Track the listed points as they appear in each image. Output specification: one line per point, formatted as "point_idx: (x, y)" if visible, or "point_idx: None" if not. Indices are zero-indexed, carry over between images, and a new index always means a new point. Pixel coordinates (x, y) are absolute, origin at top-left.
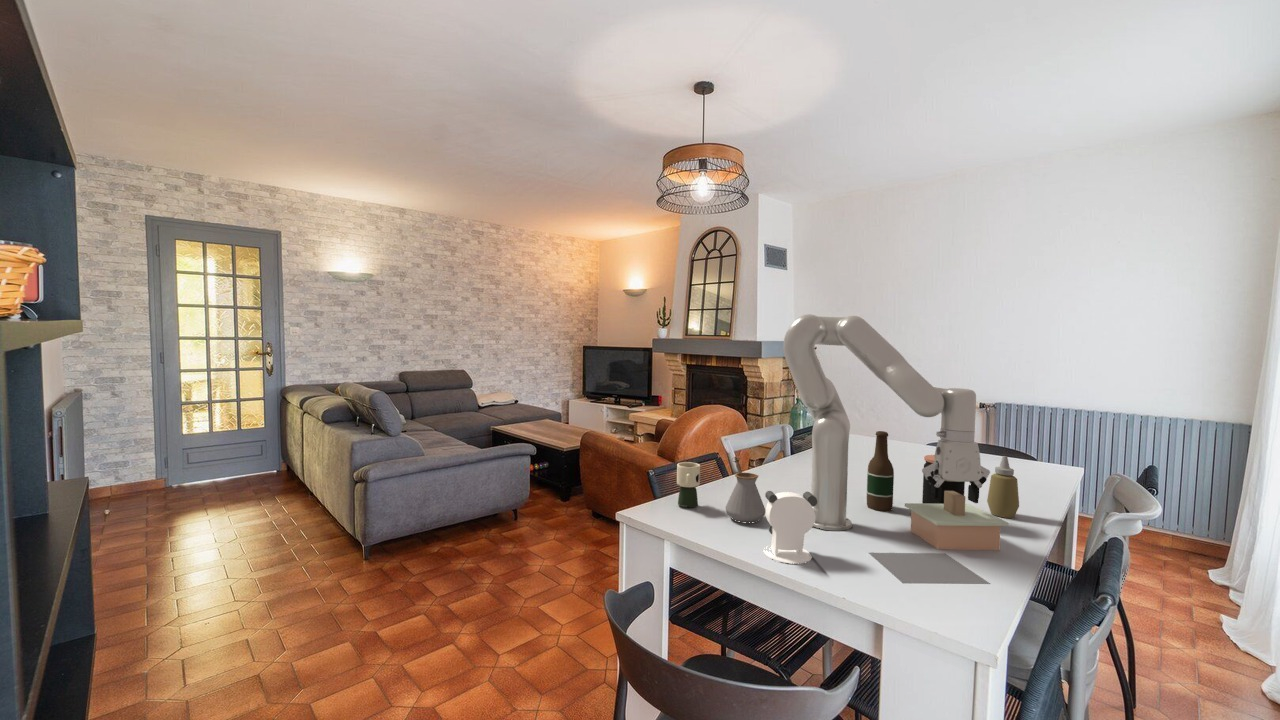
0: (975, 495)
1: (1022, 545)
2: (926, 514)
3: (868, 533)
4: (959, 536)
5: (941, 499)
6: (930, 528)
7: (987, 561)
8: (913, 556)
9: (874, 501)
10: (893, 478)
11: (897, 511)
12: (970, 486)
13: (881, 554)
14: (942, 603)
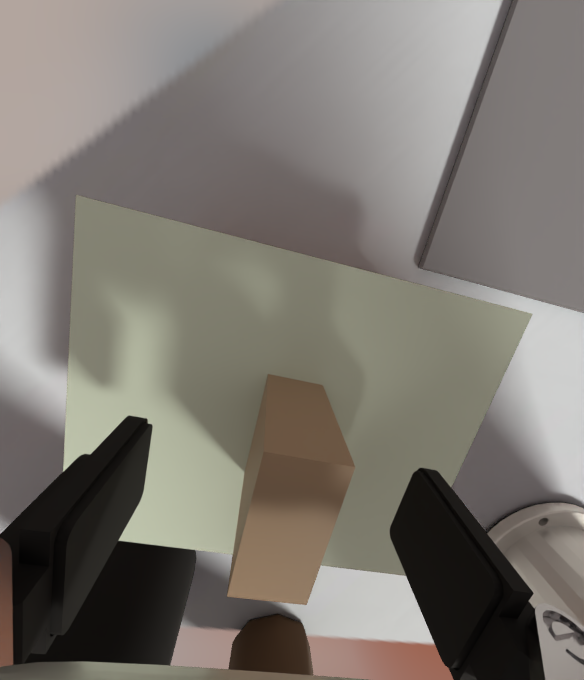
0: (120, 463)
1: (17, 284)
2: (465, 428)
3: (487, 475)
4: None
5: (139, 615)
6: None
7: (309, 183)
8: (557, 270)
9: (308, 663)
10: None
11: (237, 611)
12: (62, 612)
13: None
14: None
